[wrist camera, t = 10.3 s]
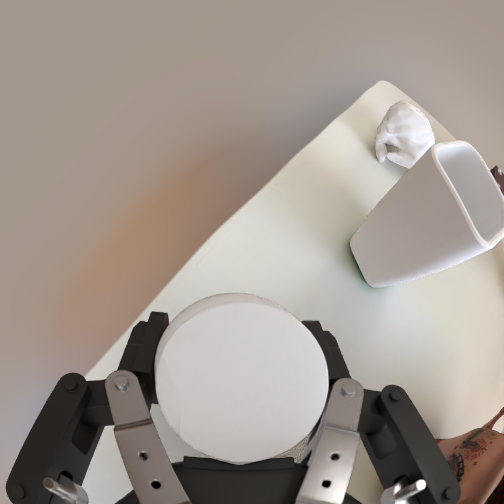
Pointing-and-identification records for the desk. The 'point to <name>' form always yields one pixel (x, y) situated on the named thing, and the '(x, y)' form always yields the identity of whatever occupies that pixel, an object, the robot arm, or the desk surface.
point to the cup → (431, 217)
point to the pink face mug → (477, 463)
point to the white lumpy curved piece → (404, 134)
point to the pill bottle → (240, 378)
